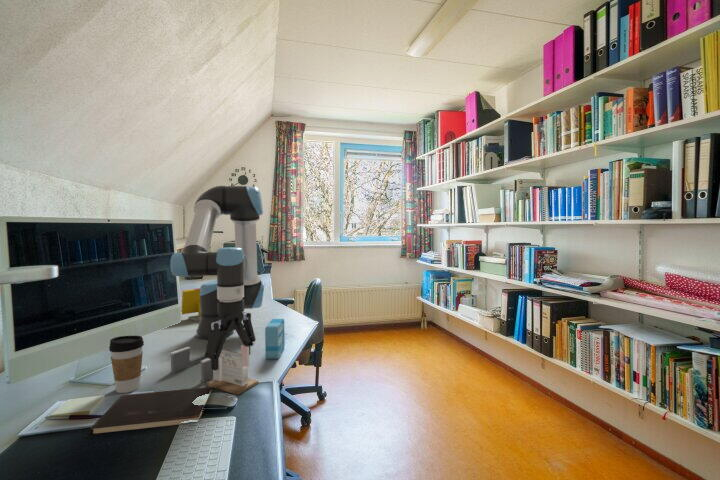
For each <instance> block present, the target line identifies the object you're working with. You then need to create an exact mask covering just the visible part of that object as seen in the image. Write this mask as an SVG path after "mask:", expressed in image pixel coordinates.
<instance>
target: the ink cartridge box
mask: <svg viewBox="0 0 720 480" xmlns="http://www.w3.org/2000/svg"><path fill="white" fill-rule="evenodd" d="M227 354H229V355H231V356H229V357H227V356H228V355H227ZM219 357H220V358H222V381H225V382H229V383H232V384H236V385H239V386H245V385H246V384H248V378H249V367H246V366H242V354H241V353H239V352H236V351H235V352H234V351H230V350H226V349H222V351H221V354H220V356H219ZM231 357H233V358H231Z"/></svg>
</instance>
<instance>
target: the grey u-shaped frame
mask: <svg viewBox="0 0 720 480" xmlns="http://www.w3.org/2000/svg"><path fill="white" fill-rule="evenodd" d="M169 354H170V373H173V374H175V373H176V372H179V371H182V370H184V369H186V368H189V367H191V366H194V365H196V364H199V363H201V367H200V368H201V369H200V371H201V372H200V373H201V382H202V383H206V382H208V381H210V380H212V379H213V370H212V368H211V359H209V358H205V354H203V355H200V356H197V357H193V358H192V359H191V347H190V346H186V347H184V348H180V349H177V350H175V351H172V352H170V353H169ZM215 354H216V353H215ZM226 356H227V357H231V358H233V356H228V355H226Z"/></svg>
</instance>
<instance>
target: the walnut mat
mask: <svg viewBox="0 0 720 480" xmlns="http://www.w3.org/2000/svg"><path fill="white" fill-rule="evenodd" d="M205 384H206V386H208V387H212V388H215V389H217V390H221V391H224V392H227V393H230V394H233V395H240V394H242V393H243V392H246V391H247V390H249V389H251V388H252V387H255V386H256V385H258V384H259V380H256V379H252V378H249V377H248V384H246V385H245V386H239V385H236V384H232V383H229V382H225V381H217V380H214V379H213V378H212V379H210V380H208V381H206V382H205Z"/></svg>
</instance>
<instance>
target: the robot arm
mask: <svg viewBox="0 0 720 480" xmlns="http://www.w3.org/2000/svg"><path fill="white" fill-rule="evenodd" d="M193 212H194V215H193V218H192V221H191V225H190V228H189V229H188V230H189V231H188V233H187V234H188V235H187V238H186V239H185V243H184V246H183V250H182V251H179V252H174V253H173V254H172V255H171V257H170V262H169V263H170V271H171V274H172V275H173V276H174V277H187V278H188V277H207V276H210V277H211V276H216V280H212V281H211V280H210V281H208V282H207V281H206V282H205V283H203V284H201V285H200V287H199V288H200V313H201V318H200V321H199V322H198V326H197V328H196V337H197V338H198V339H201V340H207V342H206V345H205V346H206V347H205V351H204V355H205V358H209V359H211V368H212V370H213V378H212V379H214V380H217V381H222V358H220V357H219V356H220V354H221V351H222V350H224V346H225V344H226V340H227V339H228V338H227V337H230V336H232V335H233V334H234V333H235V332H236V334H237V336H238V337H239V339H240V341H241V343H242V345H240V354H242V366H246V367H248V368H250V355H251V347H253V345H254V342H255V341H256V335H255V331H254V327H253V323H252V313H251V312H245V310H246V309H249V310H252V309H259V308H261V307H262V305H263V300H264V291H265V281H262V277H261V276H259V275H258V254H257V253H258V251H257V249H258V248H257V222H258V221H259V220H260V216H262V215H263V214H264V209H263V201H262V195H261V191H260V189H259V188H258V187H257V186H248V185H216V186H214V187H211V188H209V189H207V190H205V191H204V192H203V193H202V194H200V195H199V197H198V198H197V200H196V201H195V203H194V205H193ZM221 215H227V216H228V215H229V218H230V219H229V220H230V221H232V222H233V224H234V242H235V244H234V245H235V246H233V247H231V246H230V247H220V248H219V247H218V249H217V251H212V252H211V251H209V250H210V245H211V242H212V237H213V234H214V229H215V226H216V220H217V219H219V217H220V216H221ZM215 353H216V354H215Z"/></svg>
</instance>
